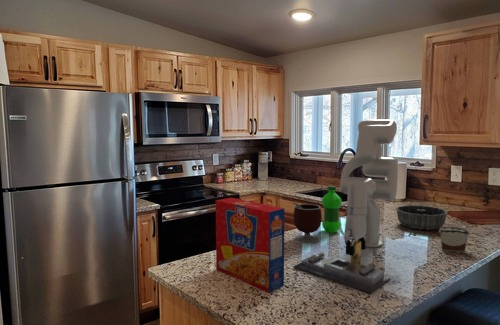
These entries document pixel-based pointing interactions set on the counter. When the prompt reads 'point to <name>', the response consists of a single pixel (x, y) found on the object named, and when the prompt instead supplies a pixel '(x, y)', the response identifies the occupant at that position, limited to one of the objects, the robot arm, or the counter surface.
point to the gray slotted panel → (344, 272)
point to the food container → (453, 238)
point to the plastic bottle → (331, 210)
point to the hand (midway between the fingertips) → (355, 252)
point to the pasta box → (250, 242)
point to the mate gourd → (307, 222)
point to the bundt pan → (421, 217)
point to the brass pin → (356, 252)
